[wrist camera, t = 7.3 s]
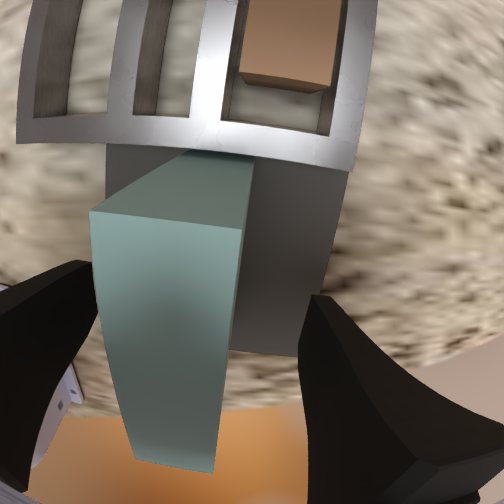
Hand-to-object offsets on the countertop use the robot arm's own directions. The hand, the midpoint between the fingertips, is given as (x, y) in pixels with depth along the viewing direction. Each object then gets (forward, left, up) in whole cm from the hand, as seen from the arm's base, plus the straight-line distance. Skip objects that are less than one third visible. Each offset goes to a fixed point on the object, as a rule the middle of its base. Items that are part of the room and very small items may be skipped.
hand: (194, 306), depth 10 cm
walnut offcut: (+10, -2, -5) cm, 11 cm away
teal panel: (0, 0, -4) cm, 4 cm away
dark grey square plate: (0, 0, -5) cm, 5 cm away
